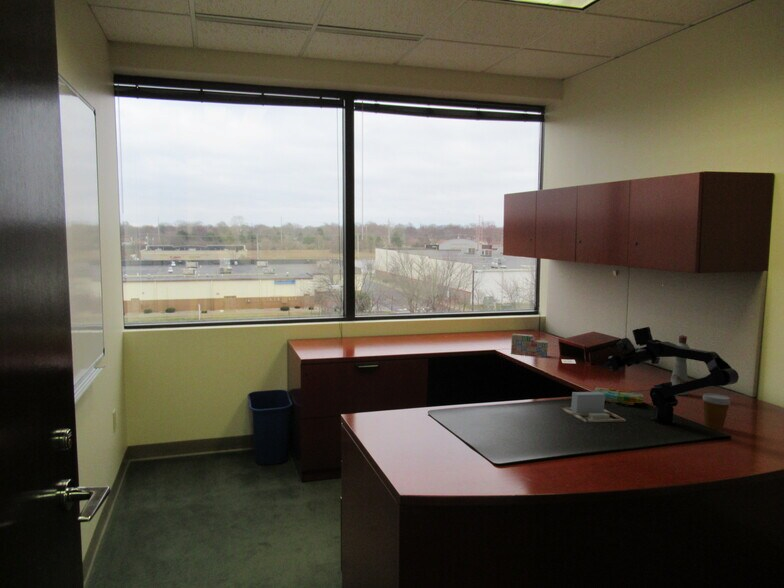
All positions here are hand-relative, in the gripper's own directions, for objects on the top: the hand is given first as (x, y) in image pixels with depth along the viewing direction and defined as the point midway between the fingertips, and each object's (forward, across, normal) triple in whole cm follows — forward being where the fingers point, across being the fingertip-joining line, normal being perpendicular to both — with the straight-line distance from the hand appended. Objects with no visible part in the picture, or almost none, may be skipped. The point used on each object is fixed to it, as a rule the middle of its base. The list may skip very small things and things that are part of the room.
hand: (609, 364), depth 246 cm
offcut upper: (-7, +27, +18) cm, 33 cm away
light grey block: (+1, +24, +16) cm, 29 cm away
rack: (-3, +25, +18) cm, 31 cm away
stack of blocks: (+93, -57, -18) cm, 111 cm away
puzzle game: (+9, -8, +16) cm, 20 cm away
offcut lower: (-6, +27, +20) cm, 34 cm away
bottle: (+6, -49, +22) cm, 54 cm away
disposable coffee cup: (-28, -9, +33) cm, 44 cm away
